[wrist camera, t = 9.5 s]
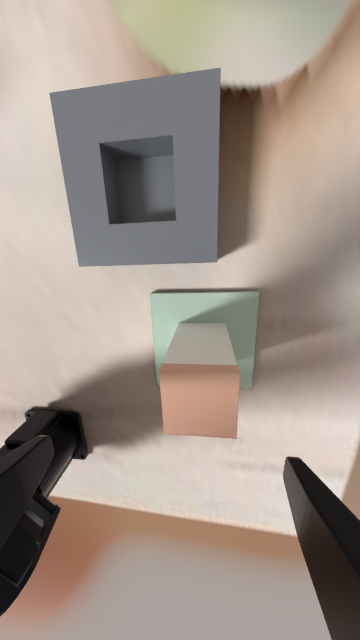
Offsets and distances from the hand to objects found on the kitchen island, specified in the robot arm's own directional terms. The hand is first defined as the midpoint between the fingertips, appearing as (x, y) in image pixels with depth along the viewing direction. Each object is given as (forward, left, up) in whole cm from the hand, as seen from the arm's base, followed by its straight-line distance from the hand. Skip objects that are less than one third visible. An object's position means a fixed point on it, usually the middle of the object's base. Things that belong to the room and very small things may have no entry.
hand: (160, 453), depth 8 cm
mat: (0, -1, -12) cm, 12 cm away
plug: (0, -1, -11) cm, 11 cm away
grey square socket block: (+12, +3, -12) cm, 17 cm away
